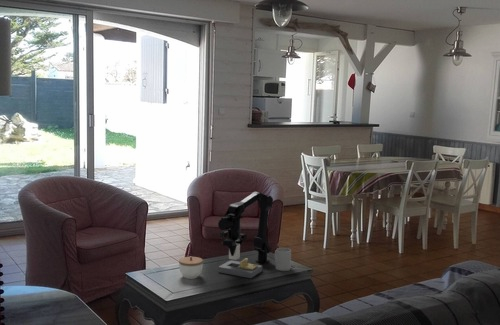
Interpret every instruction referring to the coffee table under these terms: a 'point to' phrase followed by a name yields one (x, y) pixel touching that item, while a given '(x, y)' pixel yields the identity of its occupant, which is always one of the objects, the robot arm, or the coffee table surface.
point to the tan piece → (247, 265)
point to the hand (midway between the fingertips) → (234, 254)
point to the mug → (283, 259)
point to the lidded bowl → (190, 267)
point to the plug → (237, 252)
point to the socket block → (238, 269)
